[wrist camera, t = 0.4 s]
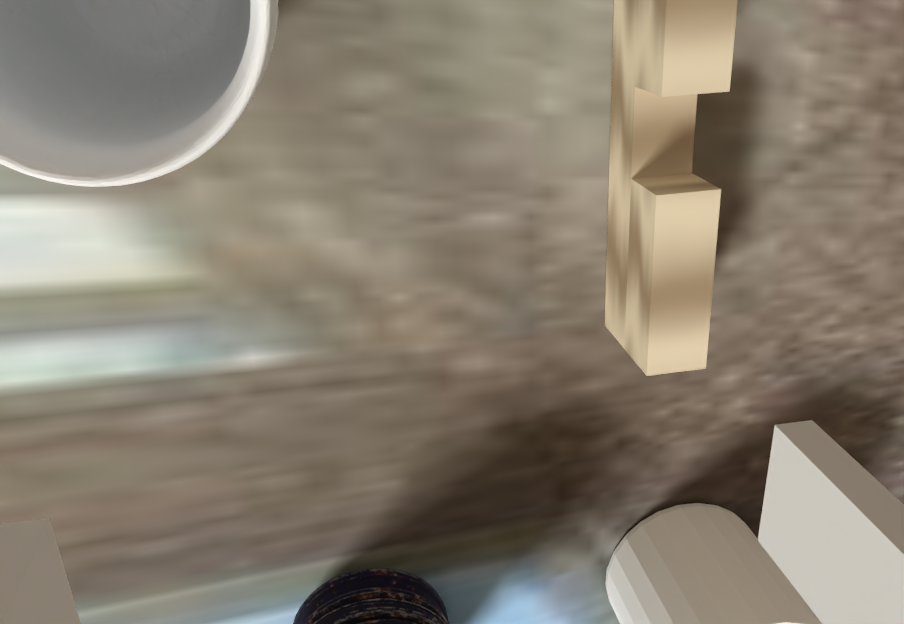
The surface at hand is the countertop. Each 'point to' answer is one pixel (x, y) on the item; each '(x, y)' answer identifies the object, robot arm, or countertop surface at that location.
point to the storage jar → (373, 600)
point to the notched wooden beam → (663, 179)
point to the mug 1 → (125, 83)
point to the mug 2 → (699, 573)
